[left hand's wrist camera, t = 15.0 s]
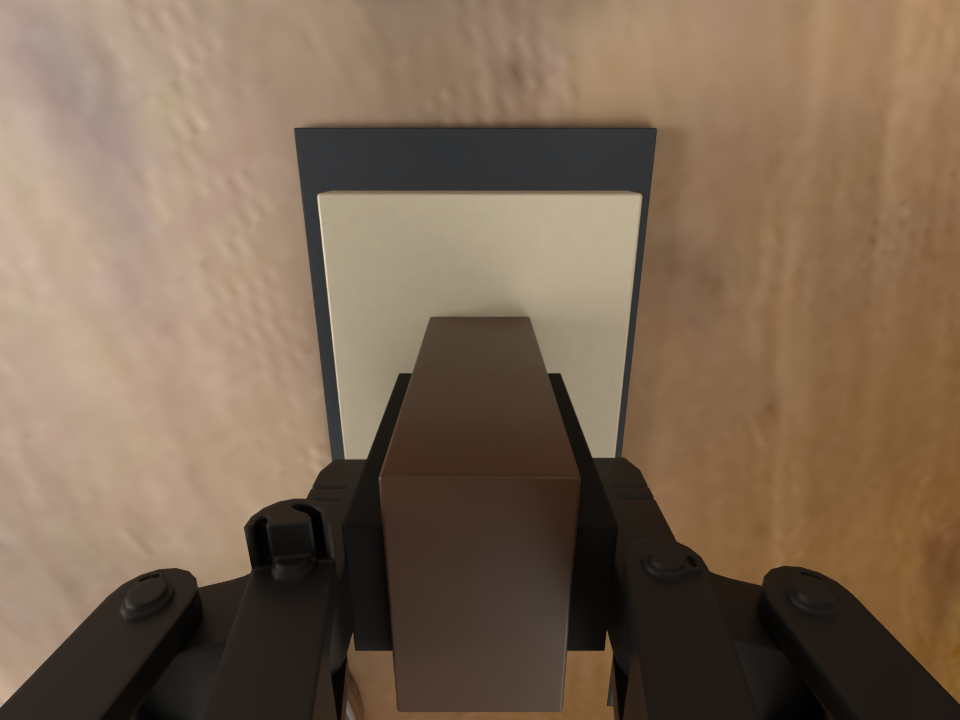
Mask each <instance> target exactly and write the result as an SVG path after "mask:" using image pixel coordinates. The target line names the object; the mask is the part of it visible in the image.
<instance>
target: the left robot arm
mask: <svg viewBox="0 0 960 720" xmlns="http://www.w3.org/2000/svg"><path fill="white" fill-rule="evenodd" d="M411 375H412V373H399V375H398V377H397V380H396V383H395V385H394V388H393V391H392V393H391V396H390V399H389V401H388V404H387V407H386V409H385V412H384V414H383V417H382V420H381V422H380V425H379V428H378V430H377V433H376V436H375V438H374V441H373V444H372V446H371V449H370V452H369V454H368V457H367V459H335V460H334V461H333V462H332V463H330V464H329V465H328V466H327V467H325V468H324V469H323V470H322V471H320V473H319V475H318V477H317V479H316V481H315V483H314V485H313V488H312V489H311V490H310V492H309V494H308V496H307V498H306V499H290V500H285V501H280V502H277V503H275V504H272V505H270V506H267V507H265V508H263V509H262V510H260V511H259V512H258V513H256V514H255V515H253V516H252V517H251V518H250V520H249V521H248V522H247V524H246V525H245V527H244V531H245V536H246V541H247V546H248V551H249V556H250V561H251V566H252V571H251V573H250V574H248V575H246V576H243V577H240V578H237V579H233V580H230V581H226V582H222V583H217V584H213V585H209V586H205V587H200V588H198V585H197V581H196V578H195V577H194V576H193V575H192V574H191V573H190V572H189V571H185V570H181V569H177V568H171V569H159V570H155V571H152V572H149V573H146V574H142V575H140V576H138V577H136V578H134V579H132V580H130V581H128V582H126V583H125V584H123V585H121V586H120V587H119V588H118V589H117V590H115V591H114V592H113V593H112V594H110V595H109V596H108V597H107V598H106V599H105V600H104V601H103V602H102V603H101V604H100V605H99V606H98V607H97V608H96V609H95V610H94V611H93V612H92V614H91V615H90V616H89V617H88V618H87V619H86V620H85V621H84V622H83V623H82V624H81V625H80V626H79V627H78V628H77V629H76V630H75V631H74V632H73V633H72V634H71V635H70V636H69V637H68V638H67V639H66V640H65V641H64V643H63V644H62V645H61V646H60V647H59V648H58V649H57V650H56V651H55V652H54V653H53V654H52V655H51V656H50V657H49V658H48V659H47V660H46V661H45V662H44V663H43V664H42V665H41V666H40V667H39V668H38V669H37V670H36V671H35V673H34V674H33V675H32V676H31V677H30V678H29V679H28V680H27V681H26V682H25V683H24V684H23V685H22V686H21V687H20V688H19V689H18V690H17V691H16V692H15V693H14V694H13V695H12V696H11V697H10V698H9V699H8V700H7V702H6V703H5V704H4V705H3V706H2V707H1V708H0V720H364V710H363V705H362V700H361V697H360V694H359V692H358V689H357V687H356V685H355V683H354V681H353V680H352V678H351V677H350V675H349V668H348V659H347V651H348V647H349V644H350V640H351V636H352V632H353V635H354V643H355V651H393V650H392V637H391V625H390V612H389V600H388V587H387V575H386V562H385V550H384V538H383V525H382V513H381V500H380V488H379V476H380V473H381V469H382V466H383V463H384V460H385V457H386V454H387V451H388V447H389V444H390V441H391V438H392V435H393V432H394V429H395V425H396V422H397V419H398V416H399V413H400V410H401V407H402V403H403V400H404V397H405V394H406V391H407V388H408V385H409V382H410V378H411ZM548 376H549V379H550V382H551V386H552V389H553V392H554V395H555V398H556V401H557V404H558V408H559V411H560V414H561V417H562V420H563V423H564V426H565V430H566V433H567V436H568V439H569V442H570V445H571V448H572V452H573V455H574V458H575V461H576V464H577V467H578V470H579V474H580V477H581V483H580V496H579V508H578V521H577V533H576V546H575V558H574V571H573V583H572V596H571V608H570V621H569V633H568V646H567V651H604V649H605V641H606V632H607V631H608V635H609V639H610V642H611V646H612V650H613V659H612V668H611V676H610V684H609V692H608V700H607V706H612V707H614V718H615V720H960V704H959V703H958V702H957V701H956V700H955V699H954V698H953V697H952V696H951V695H950V694H949V693H948V692H947V691H946V690H945V689H944V688H943V687H942V686H941V685H940V684H939V683H938V682H937V681H936V680H935V679H934V678H933V677H932V676H931V675H930V674H929V673H928V671H927V670H926V669H925V668H924V667H923V666H922V665H921V664H920V663H919V662H918V661H917V660H916V659H915V658H914V657H913V656H912V655H911V654H910V653H909V652H908V651H907V650H906V649H905V648H904V647H903V646H902V645H901V644H900V643H899V642H898V641H897V640H896V639H895V638H894V637H893V635H892V634H891V633H890V632H889V631H888V630H887V629H886V628H885V627H884V626H883V625H882V624H881V623H880V622H879V621H878V620H877V619H876V618H875V617H874V616H873V615H872V614H871V613H870V612H869V611H868V610H867V609H866V608H865V607H864V606H863V605H862V604H861V603H860V602H859V601H858V599H857V598H856V597H855V596H854V595H853V594H851V593H850V592H849V591H848V590H847V589H845V588H844V587H843V586H842V585H840V584H839V583H838V582H836V581H834V580H832V579H830V578H829V577H827V576H825V575H823V574H821V573H819V572H815V571H812V570H809V569H805V568H802V567H792V566H782V567H778V568H774V569H771V570H770V571H769V572H768V573H767V574H766V575H765V576H764V579H763V583H762V586H760V585H756V584H752V583H747V582H743V581H739V580H734V579H730V578H727V577H723V576H720V575H717V574H714V573H712V572H710V571H709V570H708V568H707V566H706V564H705V563H704V561H703V560H702V558H701V557H700V556H699V555H698V554H696V553H695V552H694V551H693V550H692V549H690V548H689V547H687V546H685V545H683V544H680V543H678V542H677V541H676V539H675V538H674V536H673V534H672V532H671V530H670V528H669V526H668V524H667V522H666V520H665V518H664V516H663V514H662V512H661V510H660V508H659V506H658V505H657V503H656V501H655V500H654V498H653V495H652V493H651V491H650V489H649V488H648V487H647V483H646V481H645V479H644V477H643V475H642V473H641V472H640V470H639V469H638V468H637V467H635V466H634V465H633V464H632V463H630V462H629V461H628V460H627V459H625V458H592V455H591V453H590V450H589V447H588V445H587V442H586V439H585V437H584V434H583V431H582V429H581V426H580V423H579V421H578V418H577V415H576V413H575V410H574V407H573V405H572V402H571V400H570V397H569V394H568V392H567V389H566V386H565V384H564V381H563V378H562V376H561V373H548Z"/></svg>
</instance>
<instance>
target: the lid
mask: <svg viewBox="0 0 960 720" xmlns="http://www.w3.org/2000/svg"><path fill="white" fill-rule="evenodd" d="M317 198H318V208H319V217H320V227H321V236H322V246H323V255H324V265H325V274H326V284H327V293H328V303H329V312H330V322H331V331H332V341H333V350H334V360H335V369H336V379H337V388H338V398H339V407H340V417H341V426H342V436H343V445H344V455H345V459H367V457H368V454H369V452H370V449H371V446H372V444H373V441H374V438H375V436H376V433H377V430H378V428H379V425H380V422H381V420H382V417H383V414H384V412H385V409H386V407H387V404H388V401H389V399H390V396H391V393H392V391H393V388H394V385H395V383H396V380H397V377H398V375H399V373H412V375H411V378H410V382H409V385H408V388H407V391H406V394H405V397H404V400H403V403H402V407H401V410H400V413H399V416H398V419H397V422H396V425H395V429H394V432H393V435H392V438H391V441H390V444H389V447H388V451H387V454H386V457H385V460H384V463H383V466H382V469H381V473H380V476H379V488H380V500H381V513H382V525H383V538H384V550H385V562H386V575H387V587H388V600H389V612H390V625H391V637H392V650H393V662H394V675H395V687H396V700H397V709H398V711H399V712H561V711H562V708H563V696H564V683H565V671H566V658H567V646H568V633H569V621H570V608H571V596H572V583H573V571H574V558H575V546H576V533H577V521H578V508H579V496H580V483H581V477H580V474H579V470H578V467H577V464H576V461H575V458H574V455H573V452H572V448H571V445H570V442H569V439H568V436H567V433H566V430H565V426H564V423H563V420H562V417H561V414H560V411H559V408H558V404H557V401H556V398H555V395H554V392H553V389H552V386H551V382H550V379H549V376H548V373H561V376H562V378H563V381H564V384H565V386H566V389H567V392H568V394H569V397H570V400H571V402H572V405H573V407H574V410H575V413H576V415H577V418H578V421H579V423H580V426H581V429H582V431H583V434H584V437H585V439H586V442H587V445H588V447H589V450H590V453H591V455H592V458H615V452H616V443H617V433H618V424H619V414H620V405H621V395H622V386H623V376H624V366H625V357H626V347H627V338H628V328H629V319H630V309H631V300H632V290H633V281H634V271H635V262H636V252H637V243H638V233H639V224H640V214H641V205H642V194H640V193H636V192H631V191H329V192H324V193H320V194H318V196H317Z"/></svg>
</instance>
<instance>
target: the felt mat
mask: <svg viewBox="0 0 960 720" xmlns="http://www.w3.org/2000/svg"><path fill="white" fill-rule="evenodd" d="M294 132H295V141H296V149H297V158H298V167H299V175H300V184H301V193H302V202H303V210H304V219H305V228H306V236H307V245H308V254H309V263H310V271H311V280H312V289H313V297H314V306H315V315H316V324H317V332H318V341H319V350H320V358H321V367H322V376H323V385H324V393H325V402H326V411H327V419H328V428H329V437H330V446H331V454H332V462H333V461H334V460H335V459H345V455H344V445H343V436H342V426H341V417H340V407H339V398H338V388H337V379H336V369H335V360H334V350H333V341H332V331H331V322H330V312H329V303H328V293H327V284H326V274H325V265H324V255H323V246H322V236H321V227H320V217H319V208H318V198H317V196H318V194H320V193H324V192H329V191H631V192H636V193H640V194H642V205H641V214H640V224H639V233H638V243H637V252H636V262H635V271H634V281H633V290H632V300H631V309H630V319H629V328H628V338H627V347H626V357H625V366H624V376H623V386H622V395H621V405H620V414H619V424H618V433H617V443H616V452H615V458H621V453H622V444H623V435H624V426H625V417H626V408H627V398H628V389H629V380H630V371H631V362H632V353H633V344H634V334H635V325H636V316H637V307H638V298H639V289H640V279H641V270H642V261H643V252H644V243H645V234H646V225H647V215H648V206H649V197H650V188H651V179H652V170H653V161H654V151H655V142H656V133H657V129H656V128H294Z"/></svg>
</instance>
